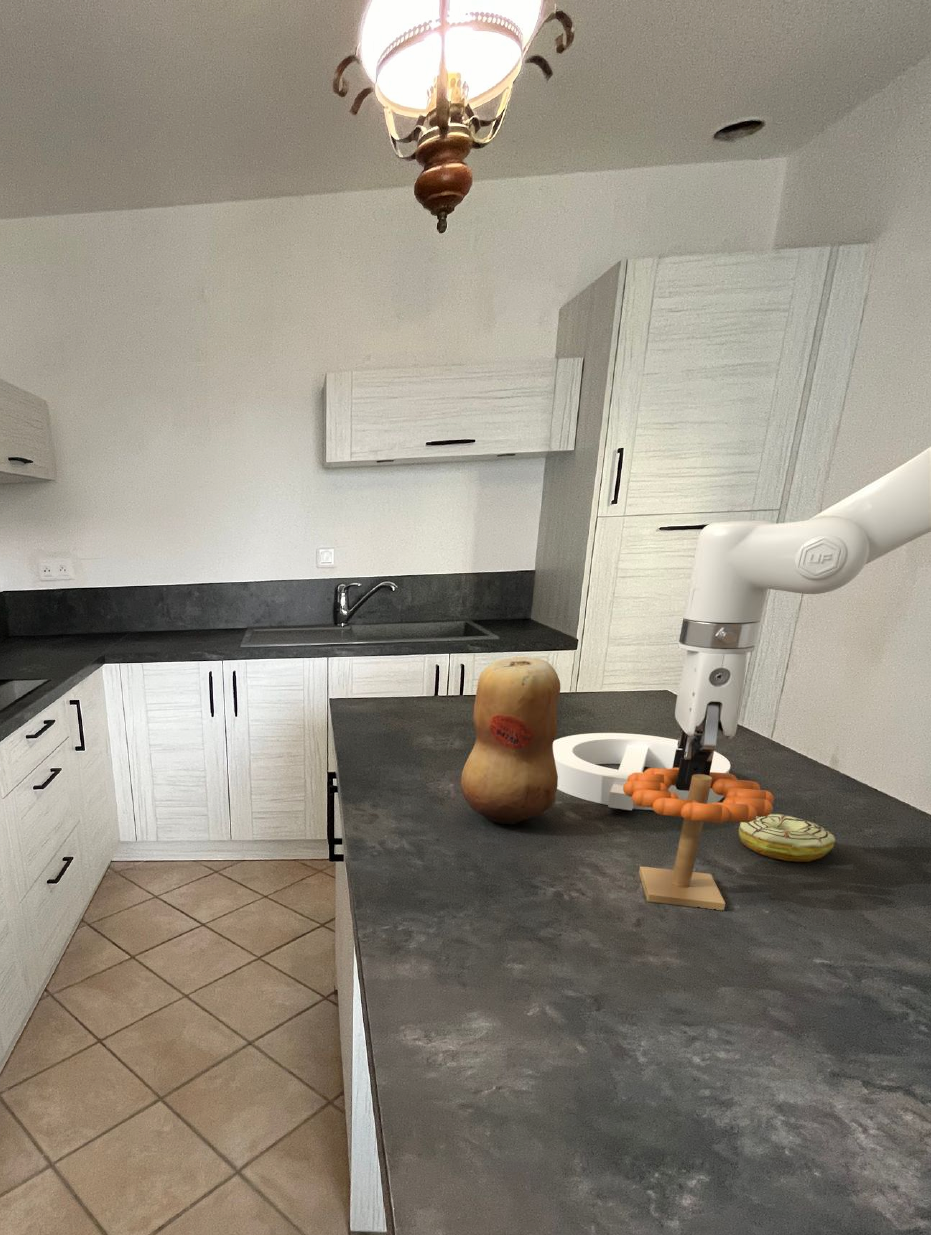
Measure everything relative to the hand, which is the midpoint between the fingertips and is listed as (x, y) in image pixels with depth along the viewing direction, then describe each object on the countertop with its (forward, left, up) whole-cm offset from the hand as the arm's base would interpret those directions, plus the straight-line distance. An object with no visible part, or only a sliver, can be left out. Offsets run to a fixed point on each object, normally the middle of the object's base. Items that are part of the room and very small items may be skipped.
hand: (687, 784), depth 90 cm
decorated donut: (-15, -12, -12) cm, 23 cm away
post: (0, +5, -12) cm, 13 cm away
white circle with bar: (+1, -37, -12) cm, 39 cm away
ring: (0, +5, 0) cm, 5 cm away
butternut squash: (+21, -13, -12) cm, 27 cm away
